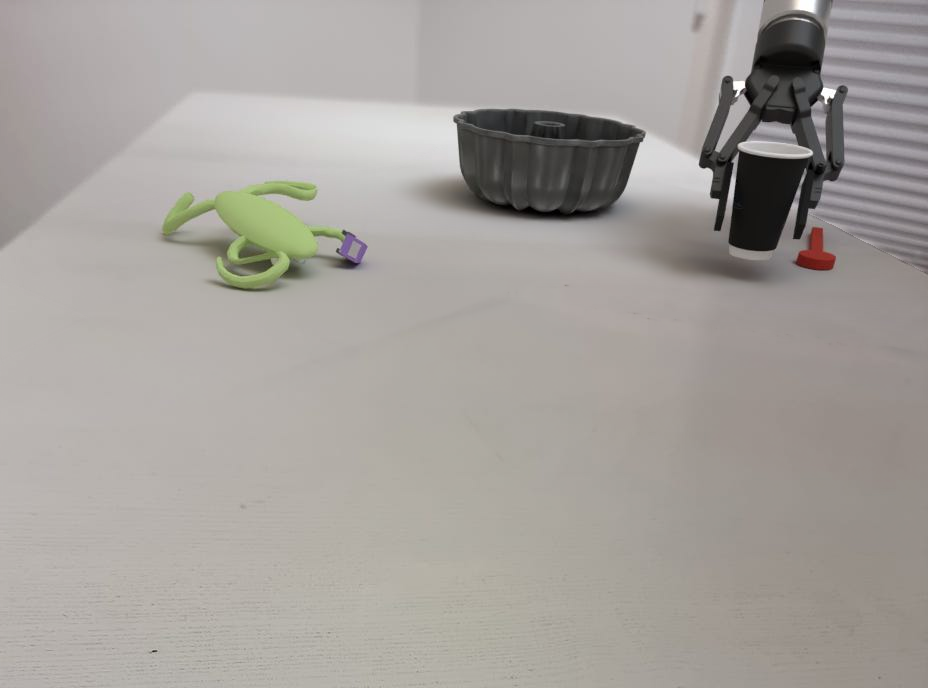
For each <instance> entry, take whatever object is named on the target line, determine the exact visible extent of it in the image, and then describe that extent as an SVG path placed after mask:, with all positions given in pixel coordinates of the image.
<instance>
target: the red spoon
mask: <svg viewBox="0 0 928 688" xmlns="http://www.w3.org/2000/svg"><path fill="white" fill-rule="evenodd" d="M809 237H810V238H809V249H802V250H800V251H798V254H797V258H796V264H797V265H798V266H799V267H800V266H801V267H803V268H805V269H811V270H817V271H829V270H832V269H833V268H834V266H835V263H836V259H837V257H836V255H834V254H833V253H830V252H827V251H824V228H823V227H819V226H812V227H811V231H810V235H809Z"/></svg>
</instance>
